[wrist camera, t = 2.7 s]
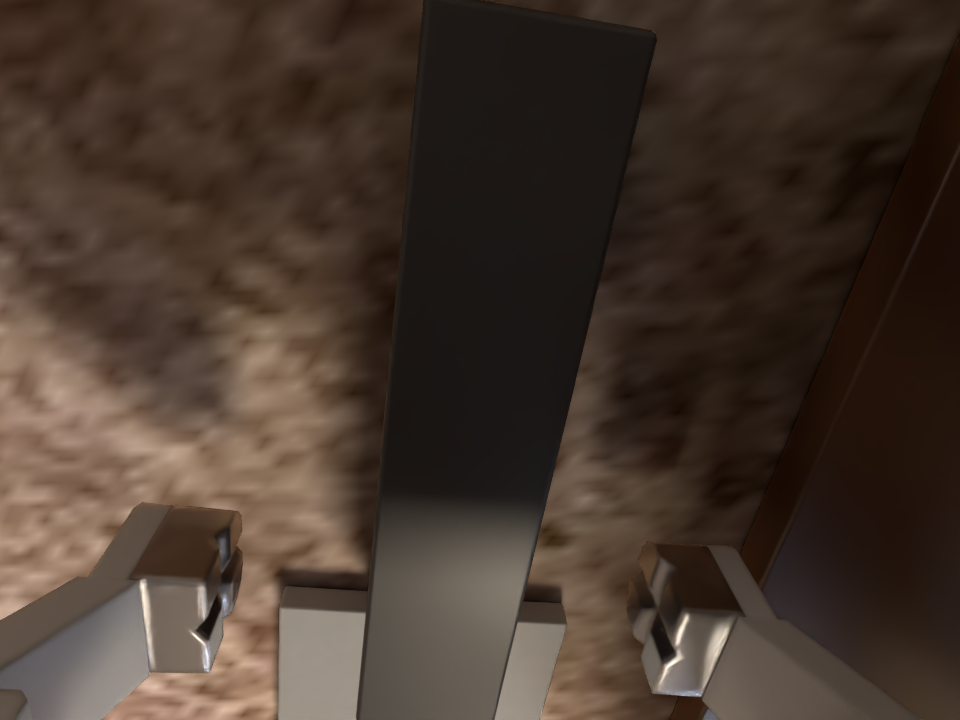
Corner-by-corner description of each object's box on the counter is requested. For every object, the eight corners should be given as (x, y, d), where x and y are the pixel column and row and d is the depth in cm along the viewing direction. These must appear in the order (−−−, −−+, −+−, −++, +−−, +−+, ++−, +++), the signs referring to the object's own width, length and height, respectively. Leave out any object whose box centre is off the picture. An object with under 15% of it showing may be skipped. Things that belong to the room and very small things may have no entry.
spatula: (296, -16, 9) (232, -44, 6) (715, 55, 9) (826, 60, 7) (281, 786, 16) (250, 931, 14) (510, 792, 17) (524, 931, 14)
